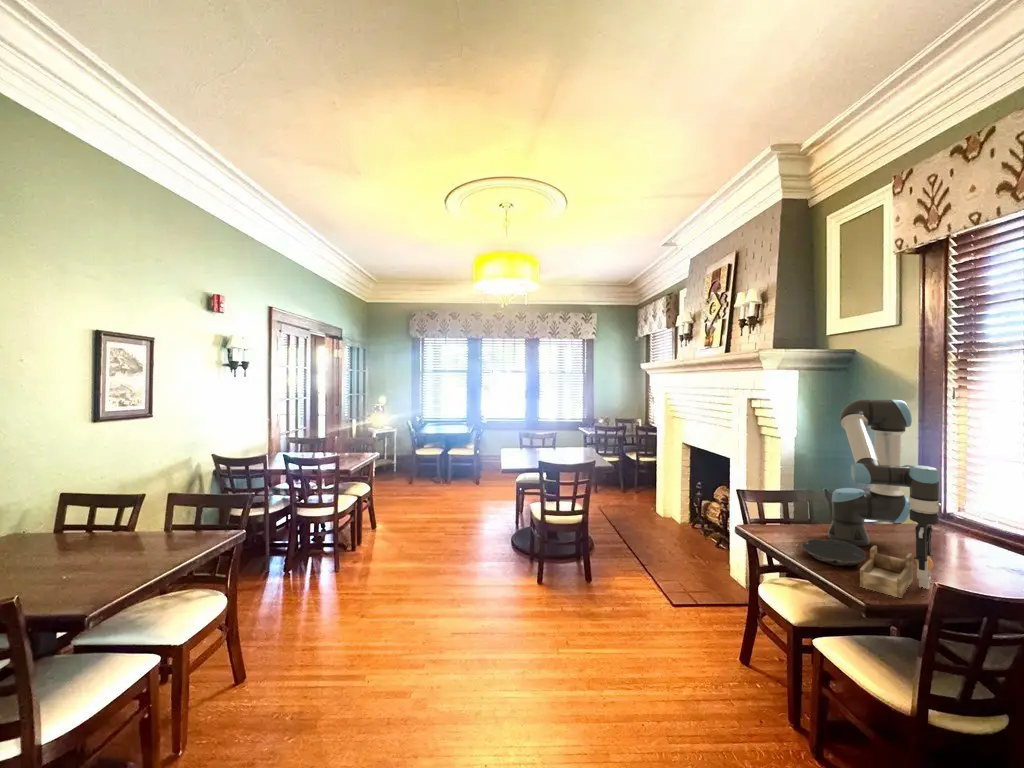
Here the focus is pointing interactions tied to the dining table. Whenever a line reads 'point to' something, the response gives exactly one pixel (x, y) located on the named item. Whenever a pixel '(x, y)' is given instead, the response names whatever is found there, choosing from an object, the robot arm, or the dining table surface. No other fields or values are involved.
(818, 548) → the board
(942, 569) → the dining table surface
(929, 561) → the ball
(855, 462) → the robot arm
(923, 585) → the grey egg cup
